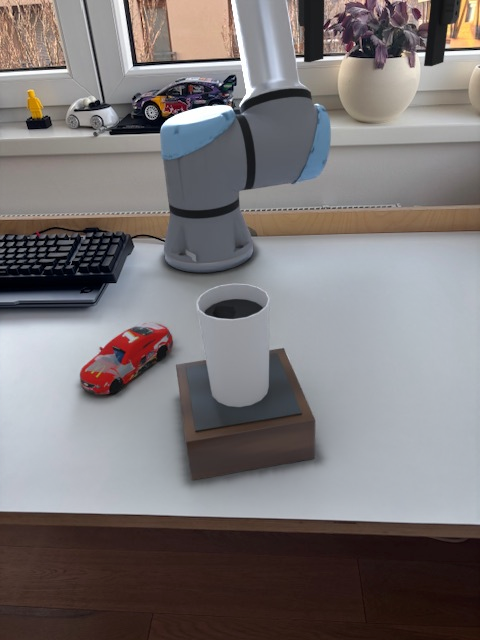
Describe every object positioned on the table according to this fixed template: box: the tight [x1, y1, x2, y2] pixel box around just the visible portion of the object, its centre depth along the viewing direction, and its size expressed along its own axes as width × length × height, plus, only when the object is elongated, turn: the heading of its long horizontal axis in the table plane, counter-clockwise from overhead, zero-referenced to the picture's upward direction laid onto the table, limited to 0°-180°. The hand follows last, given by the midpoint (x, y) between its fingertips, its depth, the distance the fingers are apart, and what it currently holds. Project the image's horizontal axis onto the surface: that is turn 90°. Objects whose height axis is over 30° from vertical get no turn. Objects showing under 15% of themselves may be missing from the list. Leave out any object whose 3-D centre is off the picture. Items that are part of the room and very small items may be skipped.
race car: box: [79, 321, 174, 396], centre depth 66 cm, size 13×5×4 cm, turn 143°
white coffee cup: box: [195, 283, 271, 407], centre depth 51 cm, size 7×7×10 cm
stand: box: [175, 347, 316, 481], centre depth 55 cm, size 12×12×5 cm
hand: (369, 62), depth 56 cm, fingers open, 13 cm apart
